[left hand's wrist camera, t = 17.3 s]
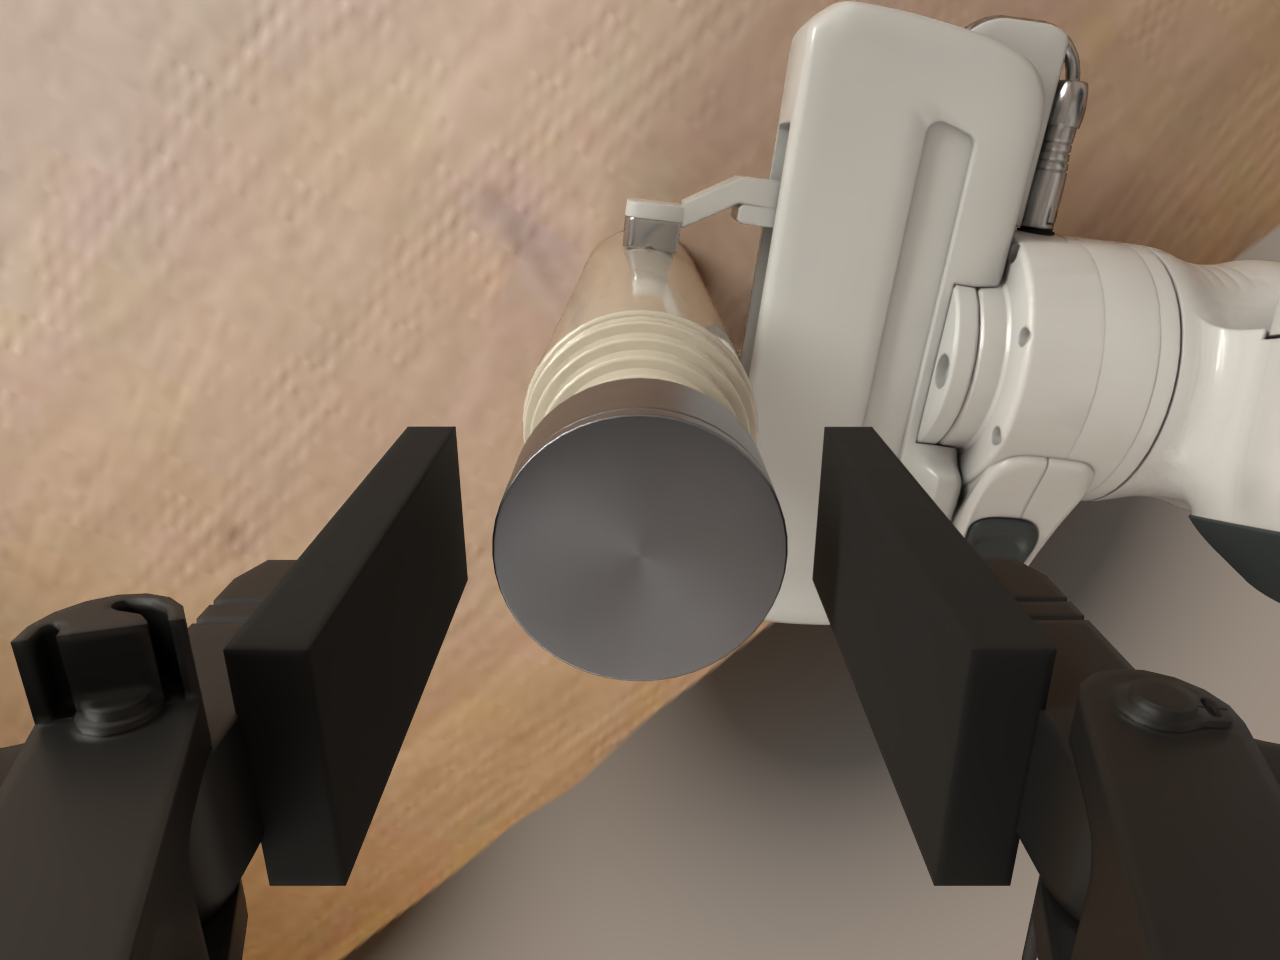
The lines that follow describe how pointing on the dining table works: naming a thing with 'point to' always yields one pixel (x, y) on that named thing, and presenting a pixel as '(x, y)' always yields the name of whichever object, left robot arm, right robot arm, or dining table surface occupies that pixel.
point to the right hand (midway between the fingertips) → (614, 318)
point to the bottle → (640, 334)
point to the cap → (640, 532)
